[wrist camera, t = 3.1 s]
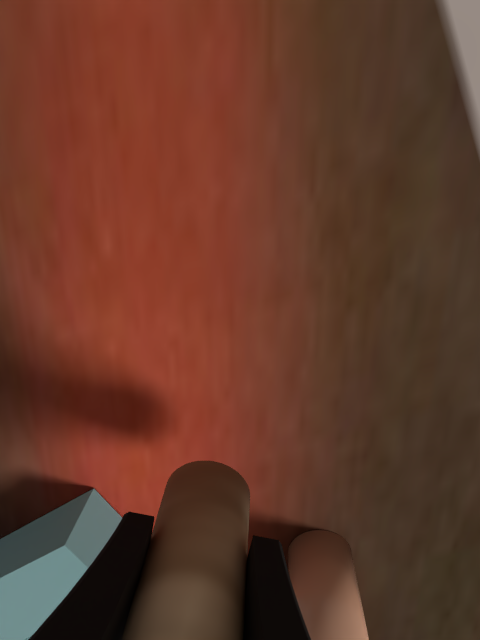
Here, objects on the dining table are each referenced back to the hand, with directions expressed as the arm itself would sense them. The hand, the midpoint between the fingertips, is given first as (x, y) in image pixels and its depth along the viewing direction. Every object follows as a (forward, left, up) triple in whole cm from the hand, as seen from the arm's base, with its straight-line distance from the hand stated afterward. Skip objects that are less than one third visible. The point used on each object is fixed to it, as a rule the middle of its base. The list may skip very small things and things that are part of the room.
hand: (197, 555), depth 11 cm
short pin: (+7, 0, -5) cm, 8 cm away
